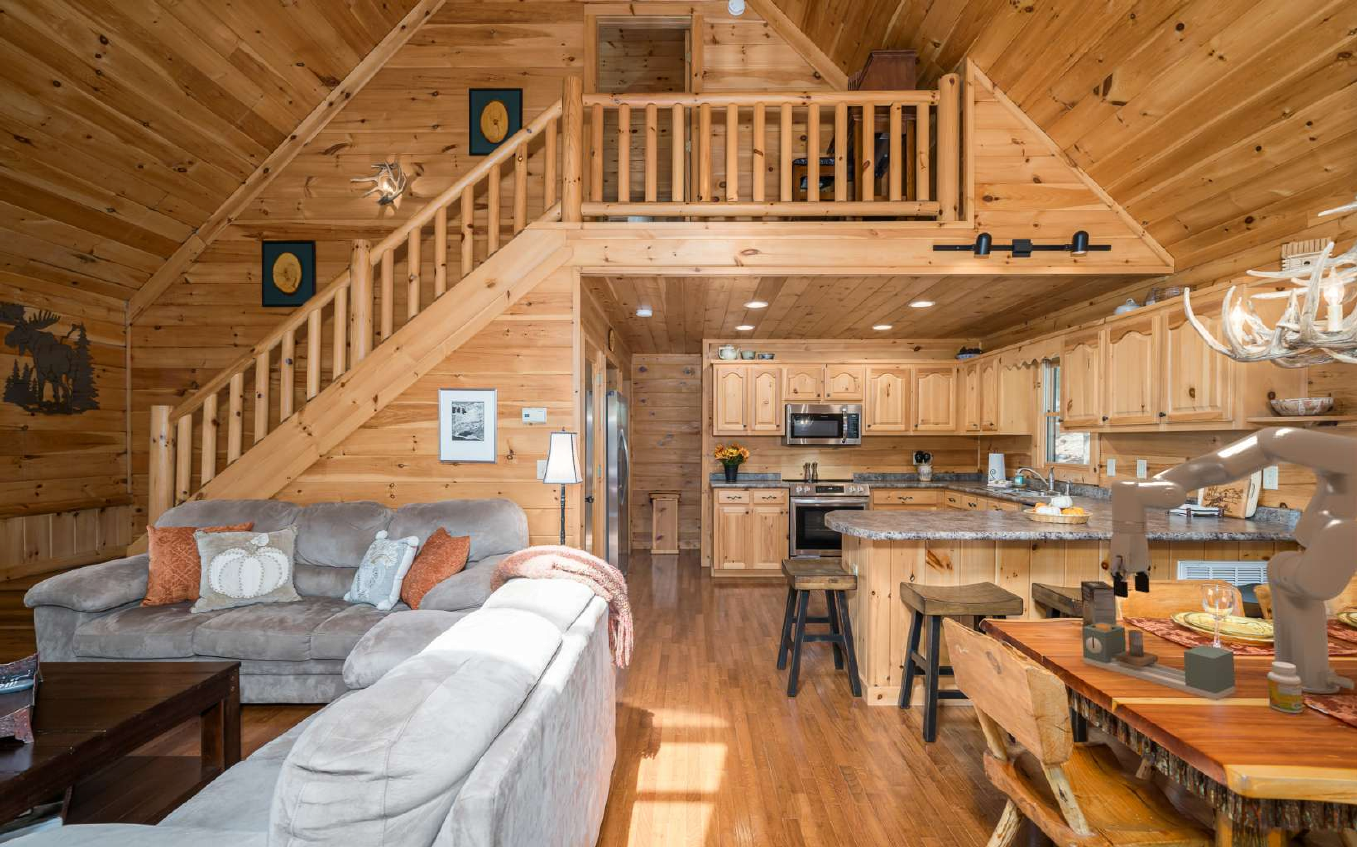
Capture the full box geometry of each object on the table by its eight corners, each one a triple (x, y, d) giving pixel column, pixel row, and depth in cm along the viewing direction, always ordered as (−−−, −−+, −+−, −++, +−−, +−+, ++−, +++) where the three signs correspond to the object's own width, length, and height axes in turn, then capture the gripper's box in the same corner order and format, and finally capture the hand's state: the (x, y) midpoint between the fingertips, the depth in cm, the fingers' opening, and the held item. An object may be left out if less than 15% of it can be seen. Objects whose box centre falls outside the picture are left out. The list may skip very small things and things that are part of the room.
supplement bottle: (1268, 701, 149) (1266, 658, 149) (1301, 707, 145) (1299, 663, 145) (1270, 710, 144) (1267, 665, 145) (1304, 715, 141) (1301, 670, 141)
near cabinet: (1235, 685, 155) (1233, 651, 155) (1215, 693, 151) (1213, 658, 151) (1201, 676, 161) (1199, 643, 161) (1181, 684, 157) (1180, 650, 157)
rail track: (1235, 691, 155) (1234, 681, 155) (1216, 700, 150) (1215, 689, 151) (1103, 656, 181) (1102, 647, 181) (1083, 662, 177) (1083, 653, 177)
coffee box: (1082, 632, 203) (1079, 580, 203) (1105, 633, 201) (1102, 580, 202) (1094, 642, 194) (1092, 587, 194) (1118, 642, 192) (1116, 587, 193)
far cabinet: (1126, 657, 176) (1124, 627, 176) (1105, 663, 172) (1104, 633, 172) (1103, 651, 181) (1101, 622, 181) (1082, 657, 177) (1080, 627, 177)
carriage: (1158, 661, 169) (1156, 631, 169) (1140, 667, 165) (1139, 637, 165) (1133, 654, 174) (1131, 626, 174) (1115, 660, 170) (1114, 631, 170)
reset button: (1114, 637, 176) (1114, 625, 176) (1106, 640, 174) (1106, 628, 174) (1100, 634, 179) (1100, 622, 179) (1093, 636, 177) (1092, 624, 177)
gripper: (1132, 523, 178) (1134, 587, 177) (1094, 529, 170) (1097, 595, 169) (1163, 526, 171) (1166, 592, 171) (1126, 532, 163) (1128, 601, 163)
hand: (1131, 594), depth 170 cm, fingers open, 9 cm apart
